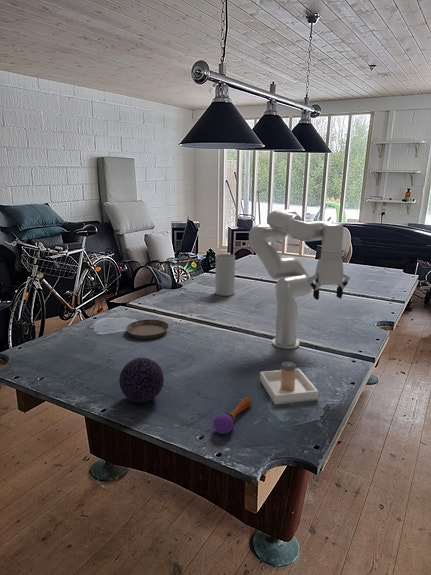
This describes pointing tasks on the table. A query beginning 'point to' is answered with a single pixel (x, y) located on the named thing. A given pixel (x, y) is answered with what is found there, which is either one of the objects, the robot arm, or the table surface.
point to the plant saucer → (147, 328)
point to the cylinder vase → (225, 274)
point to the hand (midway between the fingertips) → (327, 298)
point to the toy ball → (141, 380)
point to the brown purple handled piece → (229, 417)
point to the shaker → (288, 376)
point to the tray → (299, 394)
